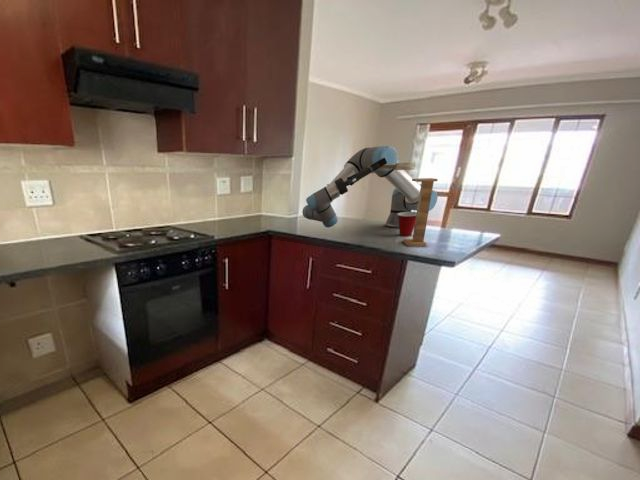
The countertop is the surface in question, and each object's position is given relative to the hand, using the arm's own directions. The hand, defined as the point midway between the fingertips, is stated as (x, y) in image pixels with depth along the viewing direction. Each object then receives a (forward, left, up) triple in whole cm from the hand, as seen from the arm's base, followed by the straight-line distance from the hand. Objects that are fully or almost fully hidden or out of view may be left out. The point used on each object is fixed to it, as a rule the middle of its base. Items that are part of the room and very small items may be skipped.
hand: (385, 160), depth 152 cm
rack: (0, +18, -38) cm, 42 cm away
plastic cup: (-22, +19, -39) cm, 48 cm away
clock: (0, +3, -4) cm, 5 cm away
